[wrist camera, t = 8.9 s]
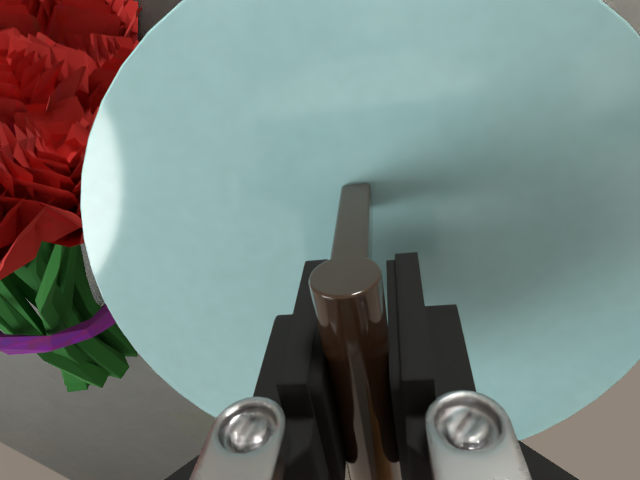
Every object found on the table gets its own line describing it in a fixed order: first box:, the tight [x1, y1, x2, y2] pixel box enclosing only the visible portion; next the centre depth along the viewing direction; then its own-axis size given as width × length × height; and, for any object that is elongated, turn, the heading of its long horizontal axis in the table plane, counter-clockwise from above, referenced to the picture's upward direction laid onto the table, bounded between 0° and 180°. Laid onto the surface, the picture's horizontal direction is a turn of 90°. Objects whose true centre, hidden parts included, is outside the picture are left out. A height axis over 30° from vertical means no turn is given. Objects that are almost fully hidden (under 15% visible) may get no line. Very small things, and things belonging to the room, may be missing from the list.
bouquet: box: [0, 0, 142, 392], centre depth 30 cm, size 20×16×30 cm
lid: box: [80, 0, 640, 480], centre depth 11 cm, size 16×16×6 cm
